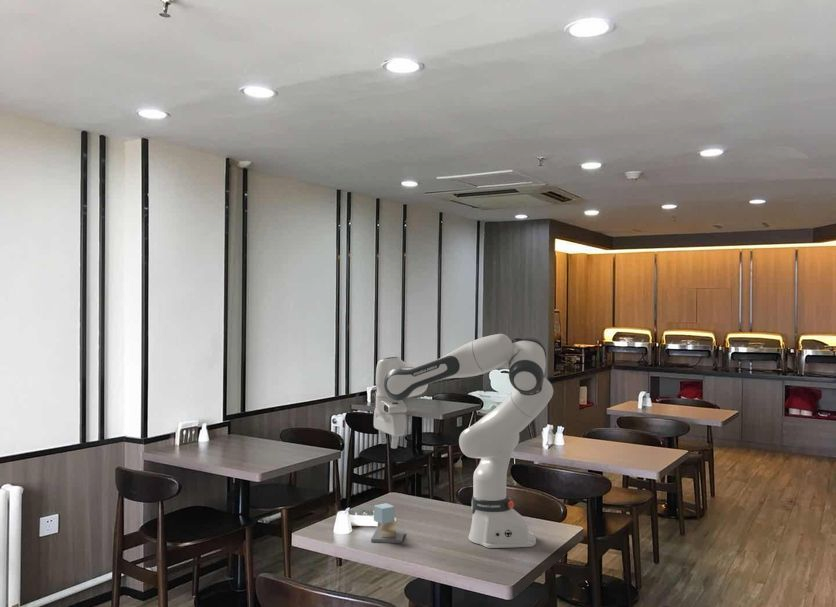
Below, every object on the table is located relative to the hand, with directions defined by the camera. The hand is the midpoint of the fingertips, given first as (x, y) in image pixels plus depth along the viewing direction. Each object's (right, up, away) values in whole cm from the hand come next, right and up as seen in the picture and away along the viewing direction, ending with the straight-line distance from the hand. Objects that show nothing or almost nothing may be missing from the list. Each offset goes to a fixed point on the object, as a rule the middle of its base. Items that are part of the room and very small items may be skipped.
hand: (388, 445), depth 228 cm
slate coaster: (0, -31, -1) cm, 31 cm away
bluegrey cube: (-1, -25, -2) cm, 25 cm away
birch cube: (0, -30, -1) cm, 30 cm away
